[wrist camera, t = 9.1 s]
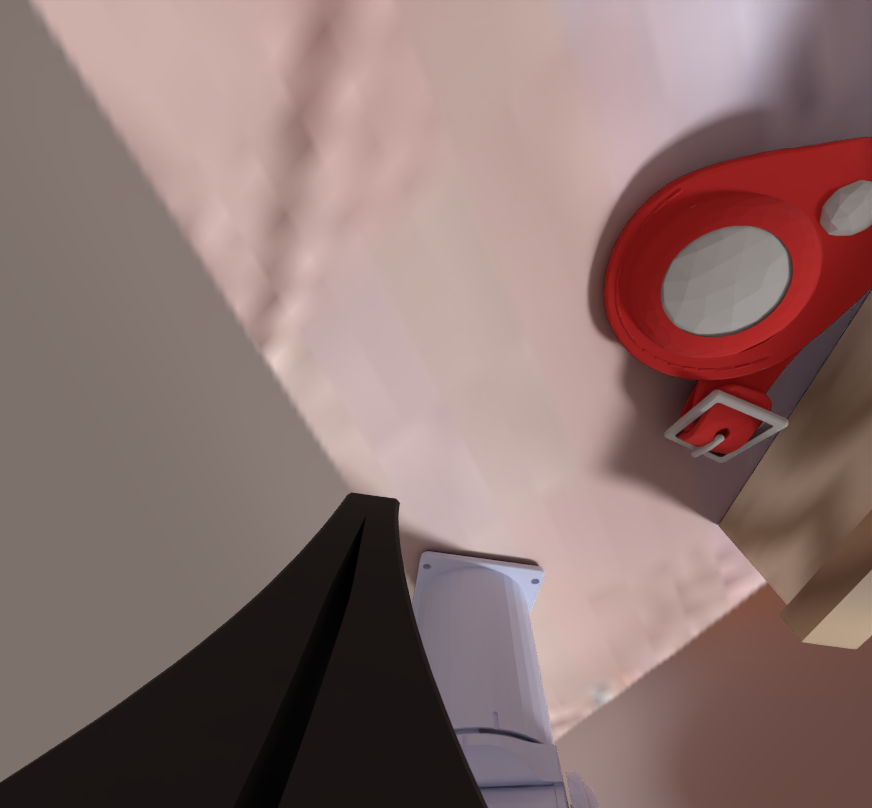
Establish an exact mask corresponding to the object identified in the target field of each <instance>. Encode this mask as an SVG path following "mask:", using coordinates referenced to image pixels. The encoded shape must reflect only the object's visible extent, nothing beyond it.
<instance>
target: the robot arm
mask: <svg viewBox="0 0 872 808" xmlns="http://www.w3.org/2000/svg"><path fill="white" fill-rule="evenodd" d="M399 505H400V503H399V501H398V500H397V499H394V498H387V497H379V496H372V495H365V494H358V493H350V494H348V495H347V496H346V498H345V499H344V501H343V502H342V503H341V505H340V506H339V507H338V509H337V510H336V511H335V512H334V514H333V515H332V516H331V517H330V519H329V520H328V521H327V522H326V523H325V525H324V526H323V527H322V528H321V529H320V531H319V532H318V533H317V534H316V535H315V536H314V537H313V539H312V540H311V541H310V542H309V543H308V544H307V545H306V546H305V547H304V549H303V550H302V551H301V552H300V553H299V554H298V555H297V556H296V557H295V558H294V559H293V560H292V561H291V562H290V563H289V564H288V565H287V566H286V567H285V568H284V569H283V570H282V571H281V572H280V573H279V574H278V575H277V577H275V578H274V579H273V581H272V582H270V583H269V584H268V585H267V586H266V587H265V588H264V589H263V590H262V591H261V592H260V593H259V594H258V595H257V596H255V598H253V599H252V600H251V601H250V602H249V603H248V604H247V605H245V606H244V607H243V608H242V609H241V610H240V611H239V612H237V613H236V614H235V615H234V616H233V617H232V618H231V619H229V620H228V621H227V622H226V623H225V624H223V625H222V626H221V627H220V628H218V629H217V630H216V631H215V632H214V633H212V634H211V635H210V636H209V637H207V639H205V640H204V641H203V642H201V643H200V644H199V645H198V646H196V647H195V648H194V649H193V650H191V651H190V652H189V653H187V655H185V656H184V657H182V658H181V659H180V660H178V661H177V662H176V663H174V664H173V665H172V666H170V667H169V668H168V669H166V670H165V671H164V672H162V673H161V674H160V675H158V676H157V677H155V678H154V679H152V680H151V681H150V682H148V683H147V684H146V685H144V686H143V687H142V688H140V689H139V690H137V691H136V692H135V693H133V694H132V695H130V696H129V697H128V698H126V699H125V700H124V701H122V702H121V703H119V704H118V705H117V706H115V707H114V708H112V709H111V710H109V711H108V712H107V713H105V714H104V715H102V716H101V717H100V718H98V719H97V720H95V721H93V722H92V723H90V724H89V725H87V726H86V727H84V728H83V729H81V730H80V731H78V732H77V733H75V734H74V735H72V736H71V737H69V738H68V739H66V740H65V741H63V742H62V743H60V744H58V745H57V746H55V747H54V748H52V749H51V750H49V751H48V752H46V753H45V754H43V755H42V756H40V757H39V758H38V759H36V760H34V761H33V762H31V763H29V764H28V765H27V766H25V767H23V768H22V769H20V770H19V771H17V772H16V773H14V774H13V775H11V776H9V777H8V778H6V779H5V780H3V781H2V782H0V808H569V806H568V801H567V796H566V791H565V786H564V781H563V776H562V772H561V767H560V762H559V758H558V752H557V748H556V745H554V740H553V734H552V729H551V724H550V719H549V714H548V708H547V703H546V698H545V693H544V688H543V682H542V677H541V672H540V667H539V662H538V656H537V651H536V646H535V641H534V636H533V630H532V625H531V620H530V612H531V610H532V607H533V605H534V602H535V600H536V597H537V595H538V592H539V590H540V587H541V585H542V582H543V580H544V577H545V573H544V570H543V568H542V567H539V566H534V565H526V564H519V563H512V562H504V561H497V560H490V559H482V558H475V557H468V556H460V555H453V554H446V553H438V552H431V551H426V552H423V553H422V554H421V556H420V562H419V568H418V574H417V580H416V585H415V591H414V598H413V604H411V600H410V595H409V591H408V587H407V582H406V577H405V572H404V566H403V560H402V554H401V547H400V539H399V525H398V514H399ZM427 564H428V565H427ZM566 777H567V782H568V787H569V792H570V797H571V801H572V804H571V805H570V806H571V808H600V807H599V803H598V800H597V797H596V794H595V792H594V790H593V789H592V788H591V787H590V786H589V785H588V784H587V783H586V782H585V781H582V778H581V776H580V774H579V773H578V772H566Z"/></svg>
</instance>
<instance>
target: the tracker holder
mask: <svg viewBox="0 0 872 808" xmlns="http://www.w3.org/2000/svg"><path fill="white" fill-rule="evenodd" d="M871 288H872V137H862V138H854V139H847V140H841V141H835V142H829V143H823V144H817V145H810V146H804V147H798V148H786V149H780V150H774V151H768V152H762V153H758V154H754V155H749V156H745V157H741V158H737V159H732V160H728V161H724V162H720V163H717V164H714V165H711V166H708V167H705V168H702V169H699V170H696V171H694V172H691V173H689V174H686V175H684V176H682V177H680V178H678V179H676V180H674V181H672V182H671V183H669V184H668V185H666V186H665V187H663V188H662V189H660V190H659V191H658V192H657V193H656V194H654V195H653V196H652V197H651V198H650V199H648V200H647V201H646V202H645V203H644V204H643V205H642V206H641V207H640V209H639V210H638V211H637V212H636V213H635V214H634V216H633V217H632V218H631V219H630V221H629V222H628V223H627V224H626V226H625V228H624V229H623V231H622V233H621V234H620V236H619V238H618V239H617V241H616V244H615V246H614V248H613V251H612V253H611V256H610V259H609V262H608V266H607V269H606V275H605V284H604V301H605V308H606V313H607V317H608V320H609V323H610V325H611V328H612V330H613V332H614V334H615V335H616V337H617V338H618V340H619V342H620V343H621V344H622V345H623V346H624V347H625V348H626V349H627V350H628V352H629V353H630V354H631V355H632V356H634V357H635V358H636V359H638V360H639V361H640V362H642V363H643V364H645V365H647V366H649V367H651V368H652V369H654V370H657V371H659V372H662V373H664V374H667V375H671V376H674V377H679V378H684V379H691V380H698V382H697V384H696V385H695V387H694V389H693V390H692V392H691V393H690V395H689V397H688V399H687V401H686V403H685V405H684V407H683V409H682V411H681V414H680V417H679V420H678V421H677V422H675V423H674V424H673V425H672V426H671V427H669V428H668V429H667V430H666V431H665V432H664V436H665V438H667V439H669V440H671V441H674V442H676V443H678V444H680V445H682V446H684V447H686V448H689V449H691V450H693V451H692V452H691V456H692V457H698V456H700V455H704V456H706V457H708V458H710V459H712V460H714V461H717V462H719V463H724V462H726V461H728V460H729V459H731V458H733V457H735V456H736V455H738V454H740V453H742V452H743V451H745V450H747V449H749V448H750V447H752V446H754V445H756V444H757V443H759V442H761V441H763V440H764V439H766V438H768V437H770V436H771V435H773V434H775V433H777V432H778V431H780V430H782V429H784V428H785V427H787V426H788V420H787V419H786V418H785V417H783V416H780V415H778V414H775V413H773V412H771V411H770V410H771V405H772V404H771V400H770V398H769V397H768V396H767V395H766V393H767V391H768V390H769V389H770V387H771V386H772V385H773V383H774V382H775V380H776V379H777V378H778V376H779V375H780V374H781V372H782V371H783V370H784V369H785V368H786V366H787V365H788V364H789V363H790V362H791V361H792V360H793V359H794V357H795V356H796V355H797V354H798V353H799V352H800V351H801V350H802V349H803V347H804V346H806V345H807V344H808V343H809V342H811V341H812V340H813V339H815V338H816V337H817V336H818V335H820V334H821V333H822V332H823V331H825V330H826V329H827V328H828V327H829V326H830V325H831V324H832V323H834V322H835V321H836V320H837V319H838V318H839V317H840V316H841V315H843V314H844V313H845V312H846V311H847V310H848V309H849V308H850V307H852V306H853V305H854V304H855V303H856V302H857V301H858V300H859V299H860V298H861V297H862V296H863V295H864V294H865V293H866V292H867V291H868V290H870V289H871ZM763 421H764V422H766V423H767V424H766V425H764V426H762V427H761V428H759V429H758V427H759V426H760V424H761V423H762V422H763ZM757 429H758V430H757Z"/></svg>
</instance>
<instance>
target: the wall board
mask: <svg viewBox="0 0 872 808" xmlns="http://www.w3.org/2000/svg"><path fill="white" fill-rule="evenodd" d="M787 420H788V426H787V427H785V428H784V429H782V430H780V432H779V433H778V435H777V436H776V438H775V439H774V441H773V442H772V444H771V446H770V447H769V449H768V450H767V452H766V453H765V455H764V456H763V458H762V459H761V461H760V462H759V464H758V466H757V467H756V469H755V470H754V472H753V473H752V475H751V476H750V478H749V479H748V481H747V482H746V484H745V485H744V487H743V489H742V490H741V492H740V493H739V495H738V496H737V498H736V499H735V501H734V502H733V504H732V505H731V507H730V508H729V510H728V512H727V513H726V515H725V516H724V518H723V519H722V521H721V522H720V524H719V525H718V526H719V527H720V528H721V529H722V530H723V532H724V533H725V534H726V535H727V536H728V537H729V538H730V540H731V541H732V542H733V543H734V544H735V545H736V546H737V548H738V549H739V550H740V551H741V552H742V553H743V555H744V556H745V557H746V558H747V559H748V560H749V561H750V563H751V564H752V565H753V566H754V567H755V568H756V569H757V571H758V572H759V573H760V574H761V575H762V576H763V577H764V579H765V580H766V581H767V582H768V583H769V584H770V585H771V587H772V588H773V589H774V590H775V591H776V592H777V593H778V595H779V596H780V597H781V598H782V599H783V600H784V602H785V603H786V604H787V606H786V607H785V609H784V610H783V611H782V612H781V613H780V614H779V615H780V617H781V618H782V619H783V620H784V621H785V623H786V624H787V625H788V626H789V627H790V629H791V630H792V631H793V632H794V633H795V635H796V636H797V637H798V638H799V639H800V641H801V642H806V643H814V644H821V645H828V646H836V647H843V648H851V649H857V648H858V647H859V646H860V645H862V644H863V643H864V642H865V641H866V640H867V639H868V638H869V637H870V636H871V635H872V291H871V292H870V294H869V295H868V297H867V298H866V300H865V301H864V303H863V304H862V306H861V307H860V309H859V310H858V312H857V314H856V315H855V317H854V318H853V320H852V321H851V323H850V324H849V326H848V327H847V329H846V330H845V332H844V333H843V335H842V337H841V338H840V340H839V341H838V343H837V344H836V346H835V347H834V349H833V350H832V352H831V353H830V355H829V357H828V358H827V360H826V361H825V363H824V364H823V366H822V367H821V369H820V370H819V372H818V373H817V375H816V376H815V378H814V380H813V381H812V383H811V384H810V386H809V387H808V389H807V390H806V392H805V393H804V395H803V396H802V398H801V400H800V401H799V403H798V404H797V406H796V407H795V409H794V410H793V412H792V413H791V415H790V416H789V418H788V419H787Z"/></svg>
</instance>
